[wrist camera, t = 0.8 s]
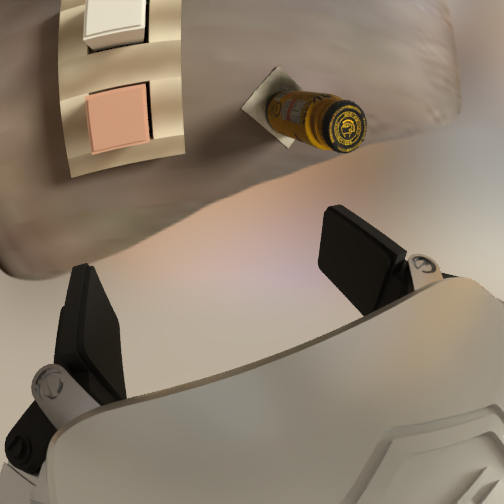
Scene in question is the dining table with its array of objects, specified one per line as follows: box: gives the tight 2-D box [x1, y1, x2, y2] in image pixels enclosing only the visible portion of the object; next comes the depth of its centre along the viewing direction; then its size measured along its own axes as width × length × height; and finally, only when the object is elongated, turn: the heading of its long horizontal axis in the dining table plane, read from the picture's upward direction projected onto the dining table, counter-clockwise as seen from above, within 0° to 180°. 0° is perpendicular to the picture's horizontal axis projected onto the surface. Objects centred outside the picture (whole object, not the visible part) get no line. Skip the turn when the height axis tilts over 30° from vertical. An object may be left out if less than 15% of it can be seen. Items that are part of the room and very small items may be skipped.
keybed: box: [58, 0, 185, 178], centre depth 20 cm, size 20×12×4 cm, turn 0°
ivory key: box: [83, 0, 146, 51], centre depth 14 cm, size 5×5×6 cm
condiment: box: [241, 66, 367, 153], centre depth 26 cm, size 7×8×12 cm
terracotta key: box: [85, 84, 150, 155], centre depth 20 cm, size 5×5×6 cm
